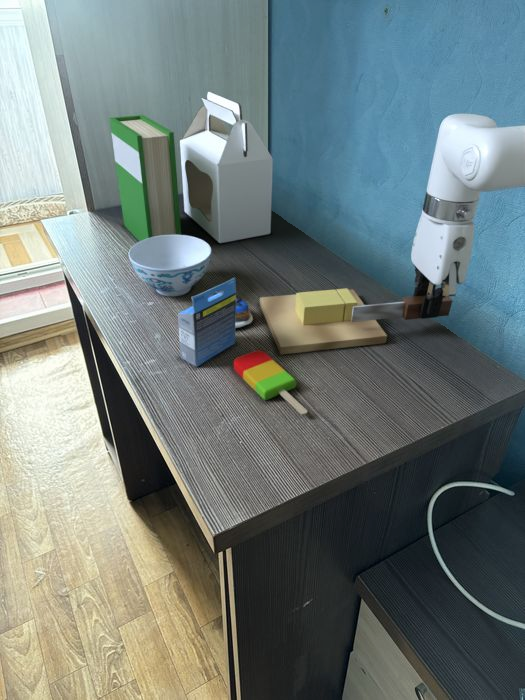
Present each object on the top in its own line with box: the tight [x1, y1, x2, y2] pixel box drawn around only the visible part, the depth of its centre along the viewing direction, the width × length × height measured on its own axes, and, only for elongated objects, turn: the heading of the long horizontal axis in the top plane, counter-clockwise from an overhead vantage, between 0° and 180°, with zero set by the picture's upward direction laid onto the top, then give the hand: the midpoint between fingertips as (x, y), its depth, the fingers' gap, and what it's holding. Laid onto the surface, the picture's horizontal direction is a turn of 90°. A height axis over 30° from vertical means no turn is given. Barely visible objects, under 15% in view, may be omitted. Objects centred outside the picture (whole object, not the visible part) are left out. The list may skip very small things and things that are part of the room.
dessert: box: [235, 297, 254, 329], centre depth 90 cm, size 8×7×6 cm
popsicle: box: [233, 350, 308, 416], centre depth 75 cm, size 6×15×2 cm, turn 34°
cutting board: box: [259, 288, 388, 356], centre depth 90 cm, size 18×16×2 cm
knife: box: [351, 295, 453, 322], centre depth 86 cm, size 17×2×3 cm, turn 102°
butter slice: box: [335, 287, 357, 321], centre depth 89 cm, size 2×5×4 cm, turn 12°
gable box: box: [179, 91, 274, 244], centre depth 119 cm, size 22×13×28 cm, turn 28°
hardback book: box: [108, 114, 182, 242], centre depth 113 cm, size 18×7×24 cm, turn 30°
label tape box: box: [177, 277, 237, 368], centre depth 79 cm, size 9×4×12 cm, turn 139°
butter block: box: [295, 288, 345, 325], centre depth 88 cm, size 7×5×4 cm
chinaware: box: [128, 234, 212, 297], centre depth 97 cm, size 15×15×8 cm
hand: (424, 311), depth 87 cm, fingers closed on knife, 2 cm apart
